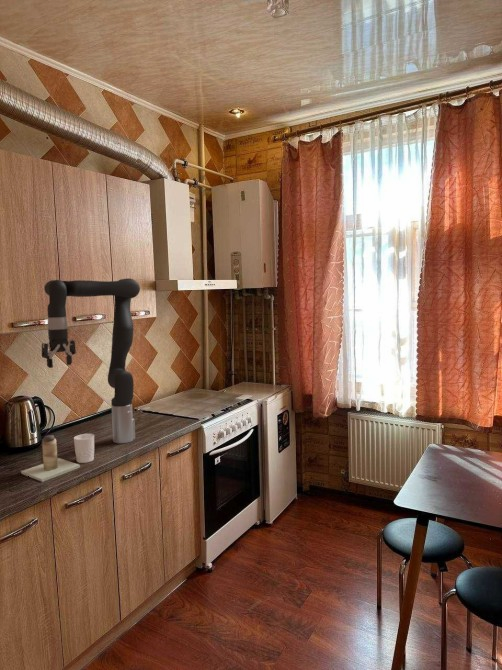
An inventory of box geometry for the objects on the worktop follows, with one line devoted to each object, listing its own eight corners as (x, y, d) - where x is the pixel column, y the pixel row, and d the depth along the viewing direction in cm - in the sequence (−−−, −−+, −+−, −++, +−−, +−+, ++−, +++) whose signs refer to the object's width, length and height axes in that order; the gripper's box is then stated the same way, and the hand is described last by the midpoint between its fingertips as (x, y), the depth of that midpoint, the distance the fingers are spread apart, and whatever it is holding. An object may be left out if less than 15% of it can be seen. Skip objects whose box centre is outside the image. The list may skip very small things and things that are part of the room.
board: (59, 460, 186) (59, 458, 186) (80, 467, 178) (80, 464, 178) (21, 473, 173) (21, 471, 173) (42, 481, 165) (42, 479, 165)
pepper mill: (52, 464, 179) (51, 433, 178) (60, 466, 176) (58, 435, 175) (41, 468, 175) (39, 437, 174) (48, 471, 172) (46, 439, 171)
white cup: (71, 460, 186) (70, 436, 185) (90, 455, 192) (89, 432, 191) (80, 465, 180) (78, 441, 179) (98, 460, 186) (97, 436, 185)
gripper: (47, 329, 181) (49, 369, 182) (78, 327, 192) (80, 364, 194) (36, 329, 185) (38, 368, 186) (67, 326, 197) (69, 363, 198)
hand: (59, 366), depth 190 cm, fingers open, 8 cm apart
